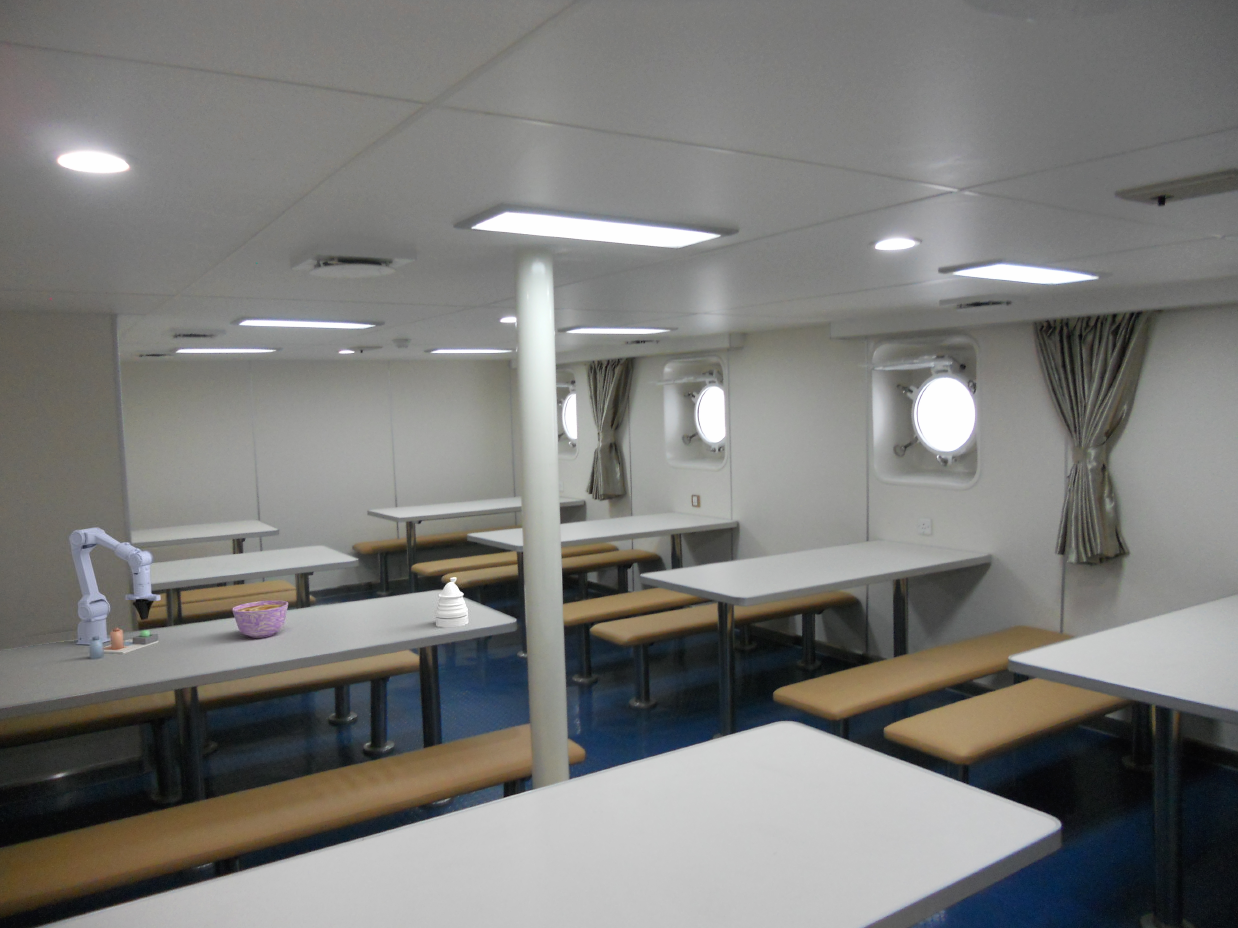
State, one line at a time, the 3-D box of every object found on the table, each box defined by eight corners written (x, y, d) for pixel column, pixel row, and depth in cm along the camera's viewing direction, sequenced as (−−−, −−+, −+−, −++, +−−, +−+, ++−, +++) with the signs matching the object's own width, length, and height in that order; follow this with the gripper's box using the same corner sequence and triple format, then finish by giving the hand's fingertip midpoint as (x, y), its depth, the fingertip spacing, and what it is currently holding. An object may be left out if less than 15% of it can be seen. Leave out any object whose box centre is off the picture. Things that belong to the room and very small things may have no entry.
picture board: (92, 651, 305) (92, 643, 305) (129, 640, 320) (128, 632, 320) (123, 653, 301) (122, 645, 301) (158, 642, 316) (158, 634, 316)
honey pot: (449, 618, 340) (447, 575, 339) (475, 621, 334) (473, 576, 333) (429, 625, 328) (427, 580, 327) (455, 628, 322) (453, 582, 321)
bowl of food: (291, 626, 334) (290, 598, 334) (287, 638, 315) (286, 608, 315) (237, 632, 328) (235, 603, 328) (230, 644, 309) (228, 613, 309)
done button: (139, 639, 313) (138, 631, 313) (145, 637, 316) (145, 629, 316) (145, 639, 312) (145, 631, 312) (151, 637, 315) (151, 629, 315)
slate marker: (87, 658, 295) (86, 638, 295) (97, 655, 299) (96, 635, 299) (96, 659, 294) (95, 638, 294) (106, 656, 298) (104, 635, 298)
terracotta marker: (108, 649, 305) (107, 629, 304) (118, 646, 309) (116, 626, 308) (117, 649, 304) (115, 629, 303) (126, 646, 308) (124, 626, 307)
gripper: (117, 585, 311) (120, 621, 312) (149, 585, 307) (151, 622, 308) (133, 581, 318) (135, 616, 319) (164, 582, 314) (166, 617, 315)
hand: (144, 619), depth 314 cm, fingers closed
